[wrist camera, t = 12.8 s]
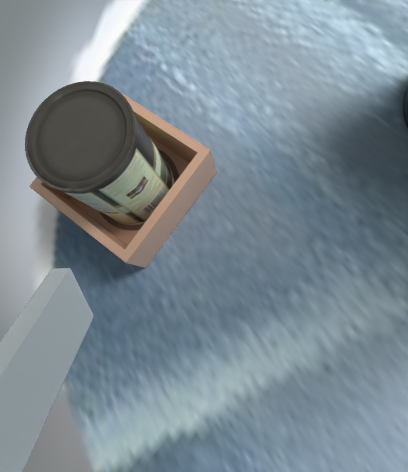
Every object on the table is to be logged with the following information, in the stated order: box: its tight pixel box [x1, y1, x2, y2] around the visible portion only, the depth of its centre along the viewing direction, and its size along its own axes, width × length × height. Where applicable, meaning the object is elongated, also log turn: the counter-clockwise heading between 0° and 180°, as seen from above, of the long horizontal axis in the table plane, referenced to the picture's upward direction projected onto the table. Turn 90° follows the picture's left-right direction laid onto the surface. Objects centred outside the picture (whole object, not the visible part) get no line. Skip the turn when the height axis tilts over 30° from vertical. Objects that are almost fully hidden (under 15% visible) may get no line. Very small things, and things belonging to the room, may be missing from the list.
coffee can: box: [25, 81, 174, 225], centre depth 35 cm, size 10×10×14 cm
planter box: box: [30, 93, 217, 268], centre depth 39 cm, size 15×15×6 cm
